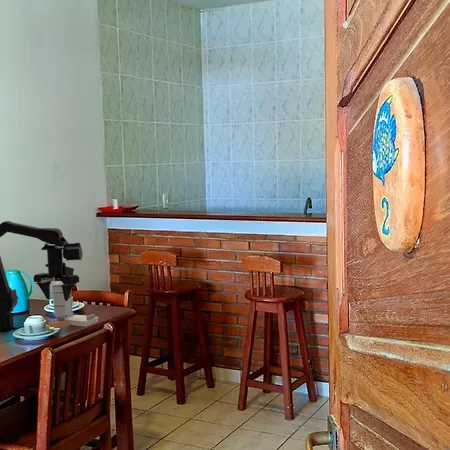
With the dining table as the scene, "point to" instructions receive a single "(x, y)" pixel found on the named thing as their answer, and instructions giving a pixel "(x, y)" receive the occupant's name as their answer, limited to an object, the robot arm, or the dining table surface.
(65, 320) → the housing
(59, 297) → the syrup box
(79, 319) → the stand
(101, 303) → the dining table surface
